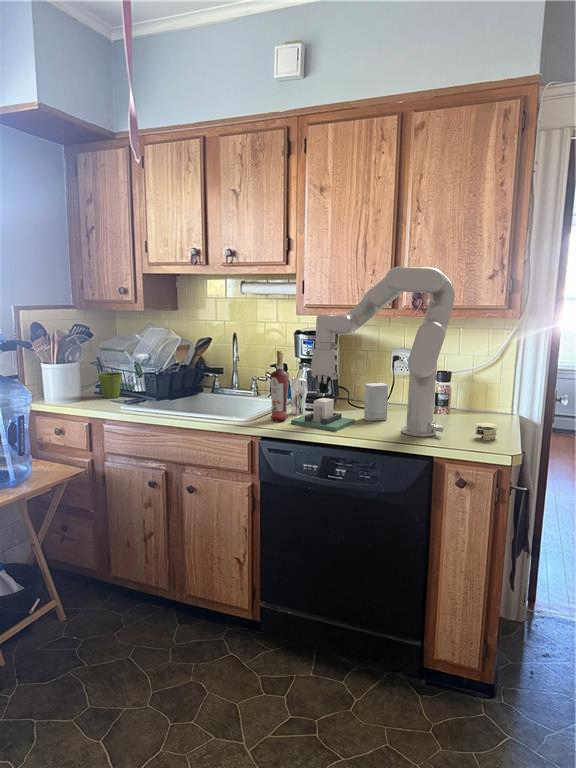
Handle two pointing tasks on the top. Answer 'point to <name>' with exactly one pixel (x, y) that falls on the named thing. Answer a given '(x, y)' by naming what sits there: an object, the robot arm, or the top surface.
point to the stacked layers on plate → (486, 430)
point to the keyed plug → (322, 409)
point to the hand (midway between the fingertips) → (323, 392)
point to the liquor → (279, 390)
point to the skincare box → (375, 401)
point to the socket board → (324, 422)
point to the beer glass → (298, 395)
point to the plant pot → (110, 383)
